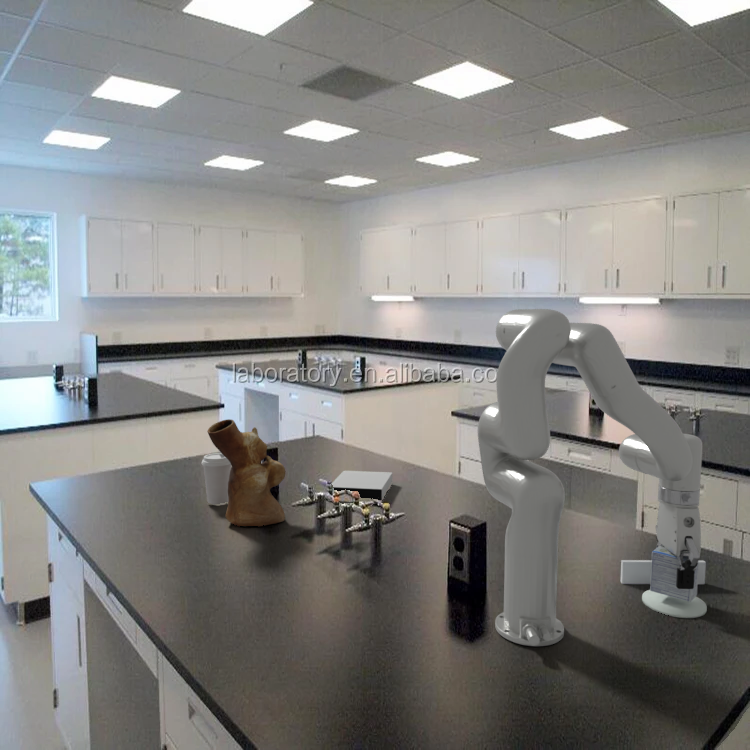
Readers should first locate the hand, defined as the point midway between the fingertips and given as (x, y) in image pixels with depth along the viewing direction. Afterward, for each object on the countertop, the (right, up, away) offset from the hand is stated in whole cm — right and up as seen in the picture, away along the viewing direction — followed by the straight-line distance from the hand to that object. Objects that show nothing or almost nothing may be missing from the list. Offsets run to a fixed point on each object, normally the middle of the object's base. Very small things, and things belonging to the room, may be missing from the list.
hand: (674, 578), depth 130 cm
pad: (0, -5, +1) cm, 5 cm away
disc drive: (-65, +2, +80) cm, 104 cm away
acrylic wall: (+2, -4, +11) cm, 12 cm away
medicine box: (0, -3, 0) cm, 3 cm away
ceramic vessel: (-97, -1, +51) cm, 110 cm away
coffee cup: (-110, +1, +69) cm, 130 cm away
